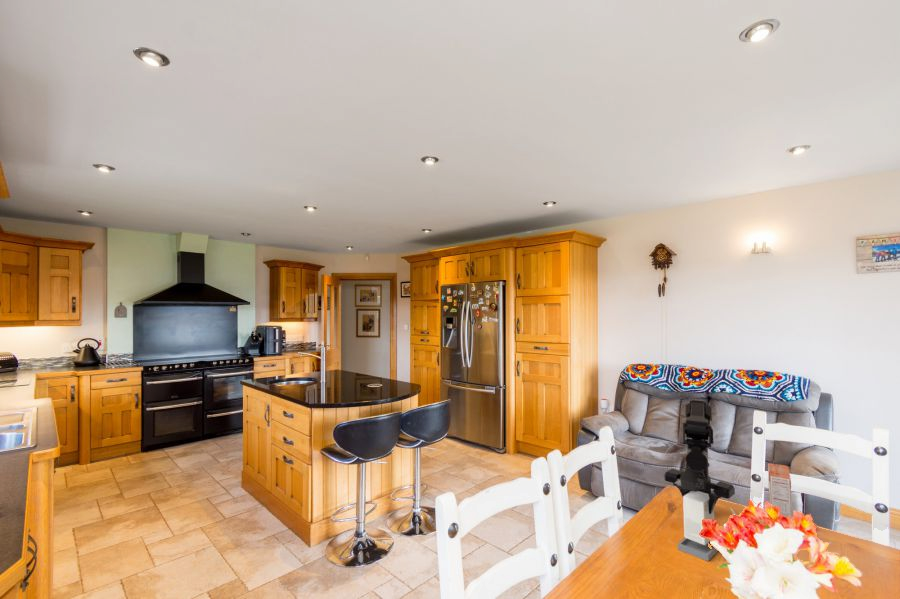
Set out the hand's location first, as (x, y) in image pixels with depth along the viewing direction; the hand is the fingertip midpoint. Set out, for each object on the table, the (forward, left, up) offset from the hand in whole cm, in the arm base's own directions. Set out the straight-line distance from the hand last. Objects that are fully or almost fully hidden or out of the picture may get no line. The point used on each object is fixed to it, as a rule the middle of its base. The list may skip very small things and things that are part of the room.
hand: (698, 509), depth 136 cm
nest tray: (0, 0, -12) cm, 12 cm away
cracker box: (-32, +14, -12) cm, 37 cm away
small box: (0, 0, -9) cm, 9 cm away
